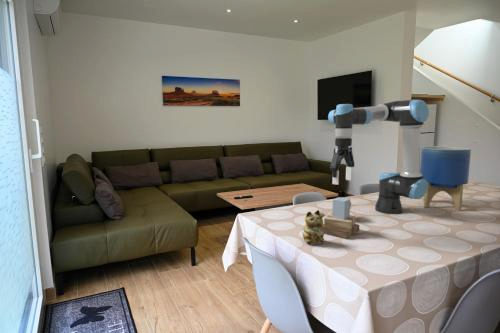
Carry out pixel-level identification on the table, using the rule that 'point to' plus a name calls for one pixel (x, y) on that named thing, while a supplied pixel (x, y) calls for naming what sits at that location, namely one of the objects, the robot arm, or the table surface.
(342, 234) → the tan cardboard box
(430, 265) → the table surface
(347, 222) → the slab upper
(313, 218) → the decorative figurine
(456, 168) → the planter
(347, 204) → the block
